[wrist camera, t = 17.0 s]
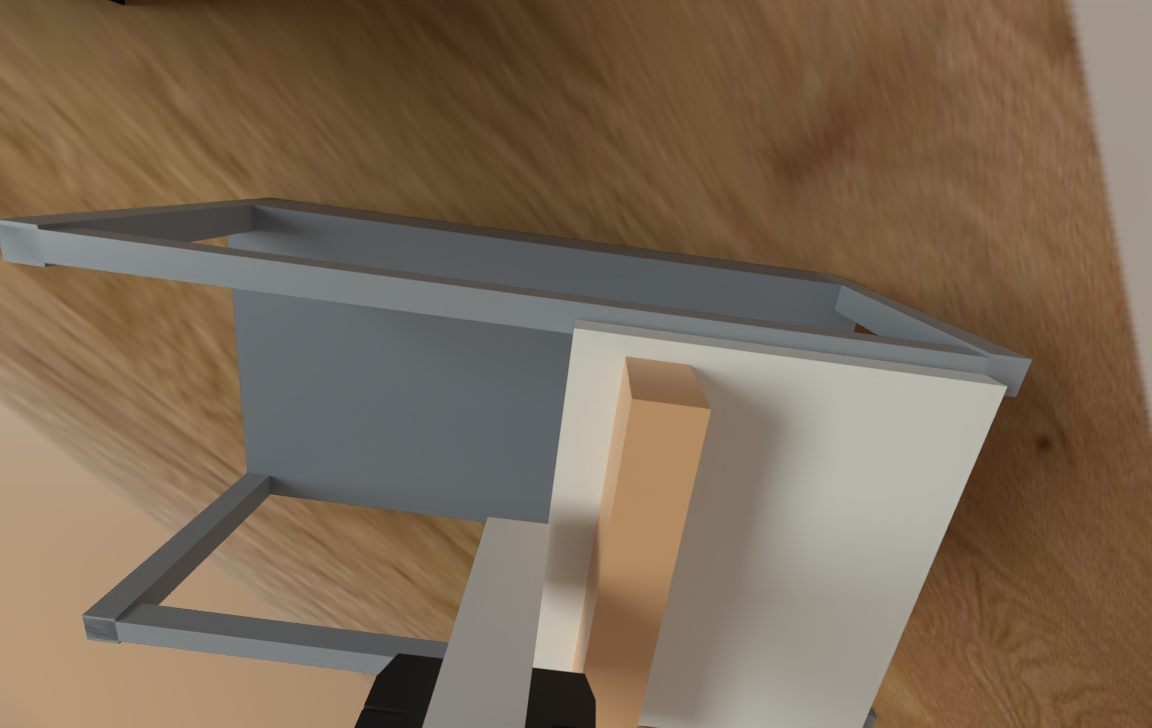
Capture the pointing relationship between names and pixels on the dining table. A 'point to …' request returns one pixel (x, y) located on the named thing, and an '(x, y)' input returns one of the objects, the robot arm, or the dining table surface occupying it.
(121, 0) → the electrical component
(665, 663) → the lid
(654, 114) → the dining table surface
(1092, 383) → the dining table surface
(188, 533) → the housing
